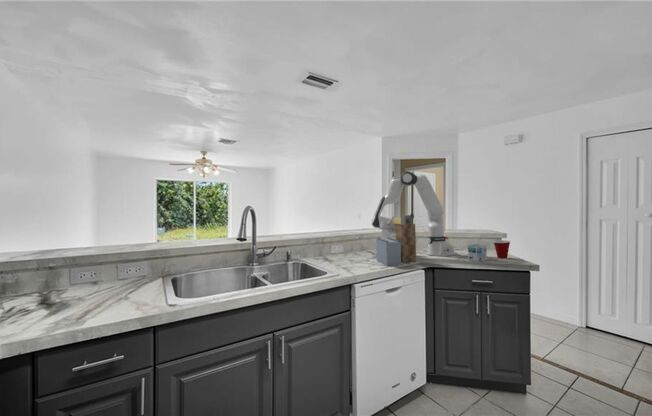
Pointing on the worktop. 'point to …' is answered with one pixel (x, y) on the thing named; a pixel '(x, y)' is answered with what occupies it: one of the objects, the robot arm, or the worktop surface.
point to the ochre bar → (403, 219)
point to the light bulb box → (477, 252)
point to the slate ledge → (388, 251)
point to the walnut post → (406, 241)
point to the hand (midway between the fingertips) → (397, 220)
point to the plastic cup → (502, 248)
